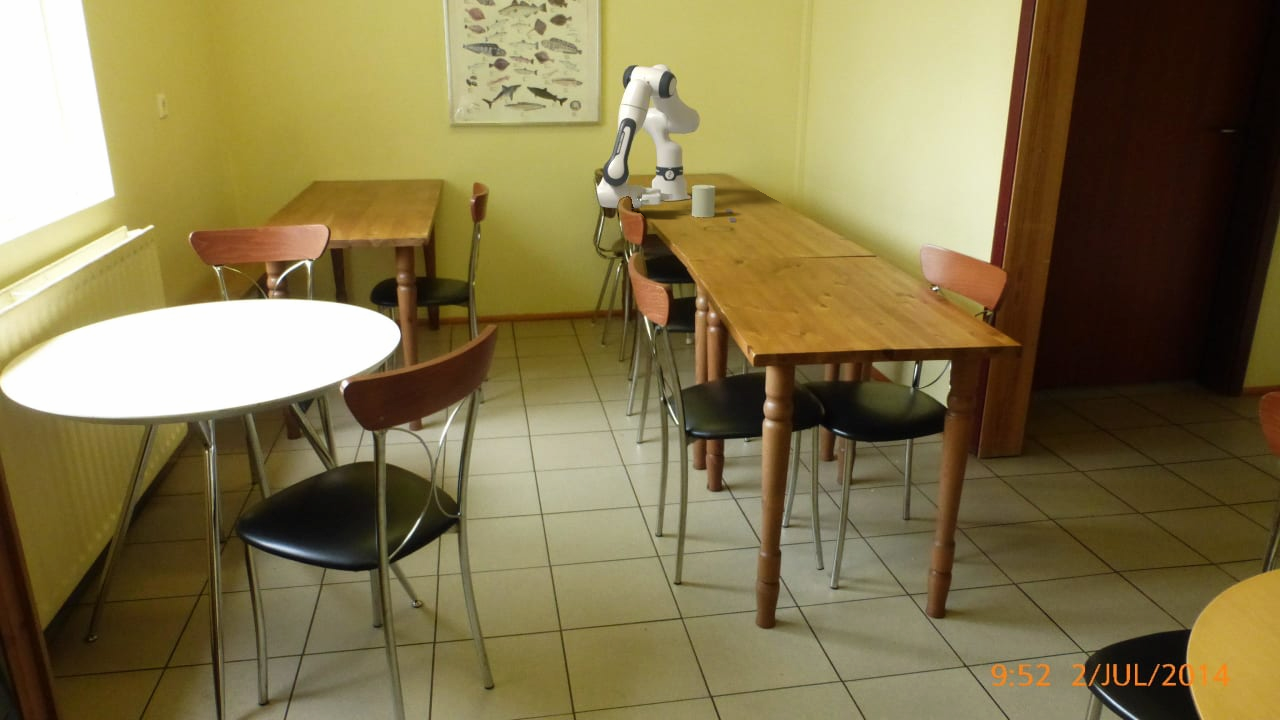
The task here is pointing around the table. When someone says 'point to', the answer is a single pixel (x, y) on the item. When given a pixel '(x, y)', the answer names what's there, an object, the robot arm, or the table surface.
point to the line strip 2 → (732, 219)
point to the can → (703, 200)
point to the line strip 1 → (729, 211)
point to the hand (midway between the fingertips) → (672, 196)
